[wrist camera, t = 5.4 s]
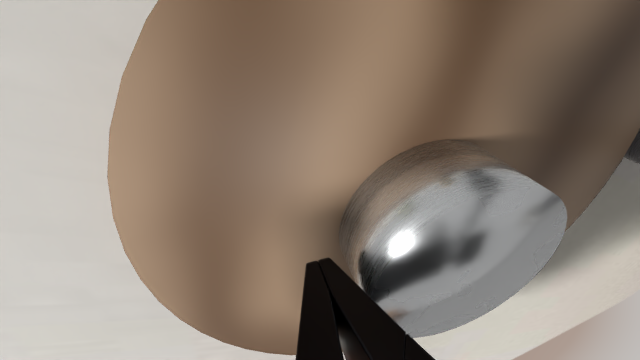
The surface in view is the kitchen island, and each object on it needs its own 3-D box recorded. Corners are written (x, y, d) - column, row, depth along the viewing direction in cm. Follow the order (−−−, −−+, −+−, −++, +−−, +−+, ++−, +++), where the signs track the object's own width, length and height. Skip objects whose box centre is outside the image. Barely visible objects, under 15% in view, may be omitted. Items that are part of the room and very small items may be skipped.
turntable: (756, -164, 8) (1146, -276, 5) (519, 274, 21) (581, 335, 17) (-107, -179, 5) (-1141, -697, 1) (222, 367, 17) (221, 470, 13)
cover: (521, 126, 10) (609, 167, 8) (469, 255, 14) (517, 308, 12) (339, 155, 9) (380, 216, 7) (337, 289, 13) (362, 357, 11)
